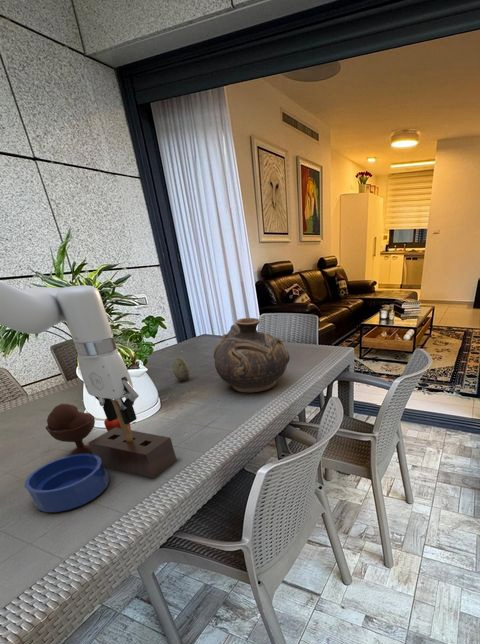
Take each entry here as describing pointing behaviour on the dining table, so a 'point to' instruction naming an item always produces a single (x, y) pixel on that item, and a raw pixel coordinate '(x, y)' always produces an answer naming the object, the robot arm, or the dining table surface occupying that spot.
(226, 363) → the vessel
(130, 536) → the dining table surface
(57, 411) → the ice cream bowl
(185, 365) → the decorative egg
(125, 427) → the cooking stick
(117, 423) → the apple
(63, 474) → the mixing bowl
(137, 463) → the block
